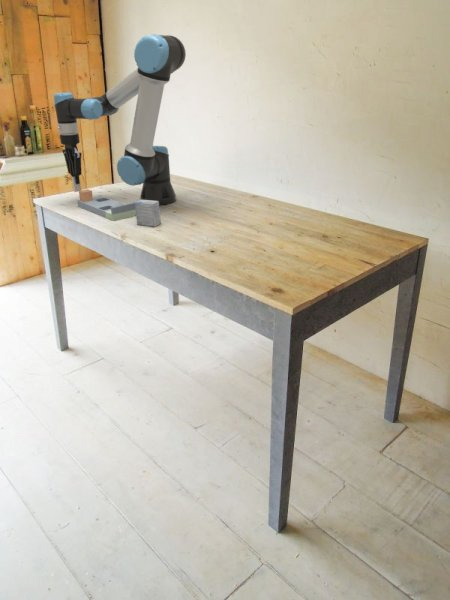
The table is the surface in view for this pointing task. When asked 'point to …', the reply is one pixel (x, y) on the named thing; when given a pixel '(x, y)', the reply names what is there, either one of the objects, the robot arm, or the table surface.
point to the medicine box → (147, 212)
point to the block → (85, 195)
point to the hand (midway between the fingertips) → (77, 191)
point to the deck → (109, 208)
